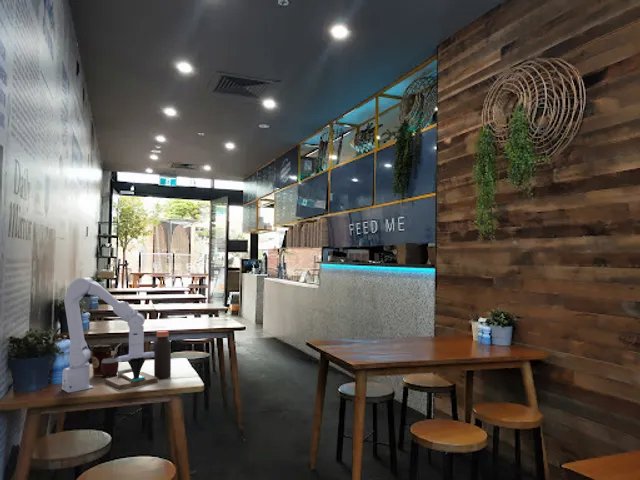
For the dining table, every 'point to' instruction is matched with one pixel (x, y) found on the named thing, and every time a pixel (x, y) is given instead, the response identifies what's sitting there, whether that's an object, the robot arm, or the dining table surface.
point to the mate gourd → (110, 366)
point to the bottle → (162, 355)
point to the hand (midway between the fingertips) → (136, 377)
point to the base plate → (126, 383)
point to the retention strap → (131, 377)
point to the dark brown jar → (99, 357)
